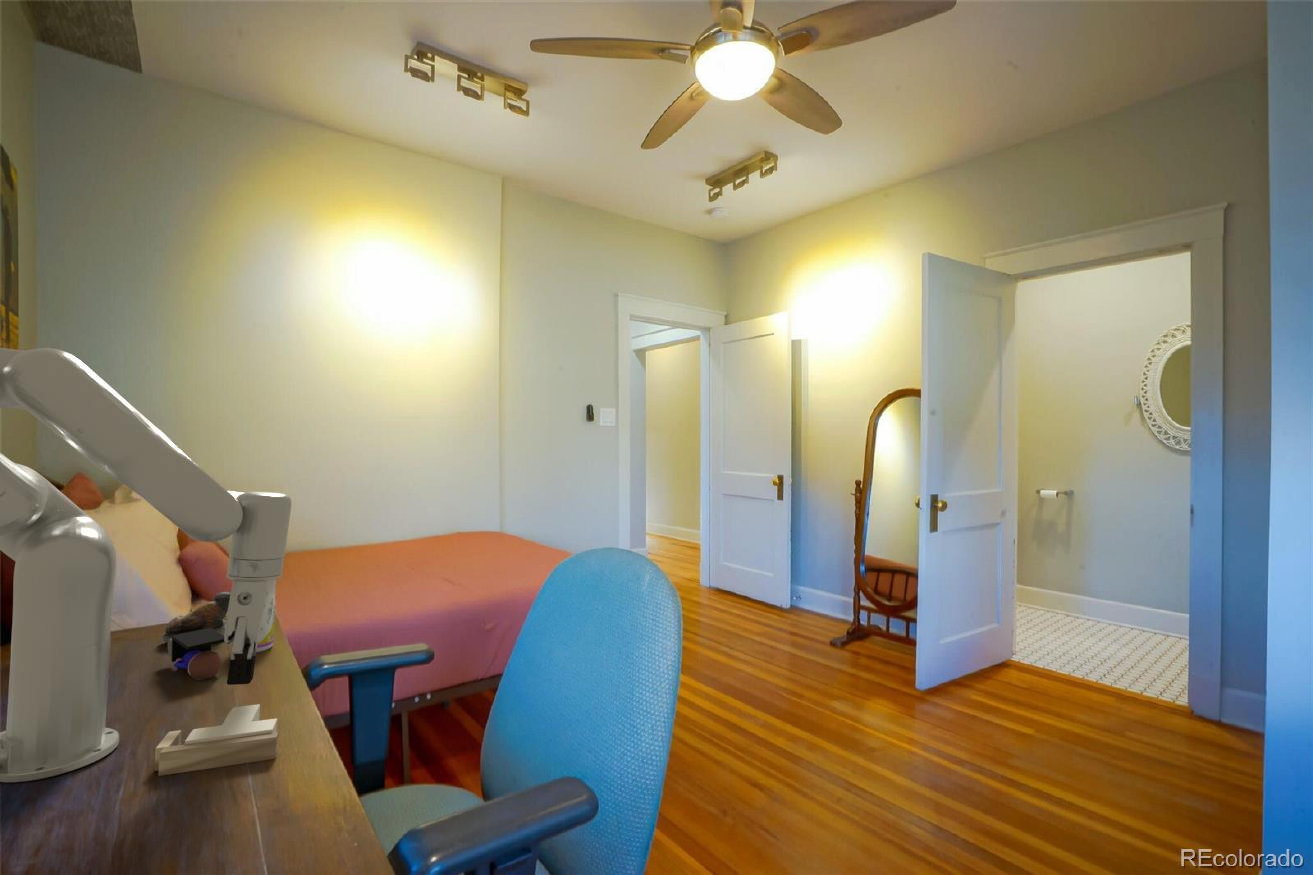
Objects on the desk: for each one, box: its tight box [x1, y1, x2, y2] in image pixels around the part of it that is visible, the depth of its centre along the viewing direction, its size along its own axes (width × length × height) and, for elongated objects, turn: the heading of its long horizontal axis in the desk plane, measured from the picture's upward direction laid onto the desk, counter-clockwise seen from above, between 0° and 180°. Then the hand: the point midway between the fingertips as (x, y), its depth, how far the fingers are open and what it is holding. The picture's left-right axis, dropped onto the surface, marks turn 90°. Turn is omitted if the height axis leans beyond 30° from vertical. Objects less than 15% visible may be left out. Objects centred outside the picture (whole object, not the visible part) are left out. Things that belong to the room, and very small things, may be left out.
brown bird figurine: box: [161, 591, 231, 643], centre depth 127 cm, size 12×7×10 cm, turn 119°
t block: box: [184, 703, 278, 744], centre depth 85 cm, size 10×10×4 cm
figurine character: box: [167, 628, 226, 681], centre depth 110 cm, size 7×8×15 cm
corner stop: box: [153, 729, 280, 777], centre depth 81 cm, size 6×14×3 cm, turn 113°
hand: (239, 682), depth 94 cm, fingers closed
